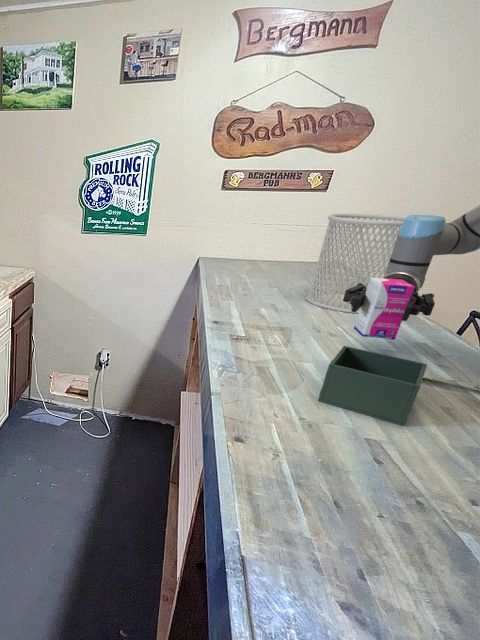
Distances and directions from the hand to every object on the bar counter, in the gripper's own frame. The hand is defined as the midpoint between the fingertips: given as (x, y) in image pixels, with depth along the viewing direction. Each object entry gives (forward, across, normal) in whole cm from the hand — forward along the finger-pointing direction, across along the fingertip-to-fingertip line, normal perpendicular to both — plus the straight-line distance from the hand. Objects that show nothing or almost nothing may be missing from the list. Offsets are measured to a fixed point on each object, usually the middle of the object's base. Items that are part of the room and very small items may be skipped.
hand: (380, 309), depth 91 cm
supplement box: (-5, 0, -7) cm, 8 cm away
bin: (-1, -3, -20) cm, 20 cm away
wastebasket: (-84, +16, -20) cm, 88 cm away
